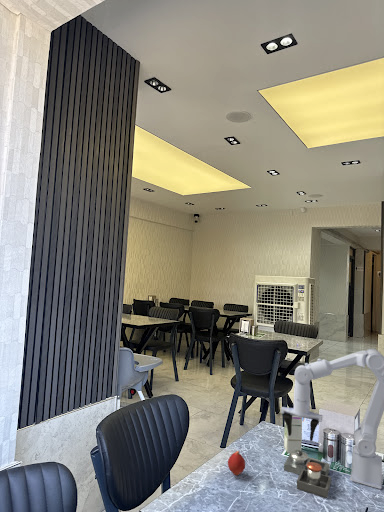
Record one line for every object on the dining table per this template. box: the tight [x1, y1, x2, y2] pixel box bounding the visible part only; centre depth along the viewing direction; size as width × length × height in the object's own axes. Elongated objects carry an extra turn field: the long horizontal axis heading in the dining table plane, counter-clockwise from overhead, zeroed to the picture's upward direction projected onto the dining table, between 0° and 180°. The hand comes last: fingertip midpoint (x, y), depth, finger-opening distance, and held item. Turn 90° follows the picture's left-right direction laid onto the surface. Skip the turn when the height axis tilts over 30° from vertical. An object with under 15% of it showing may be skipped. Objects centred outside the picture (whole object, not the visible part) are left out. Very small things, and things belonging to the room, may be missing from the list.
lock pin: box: [307, 462, 322, 487], centre depth 118 cm, size 5×5×6 cm
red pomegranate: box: [227, 450, 246, 476], centre depth 121 cm, size 6×6×8 cm
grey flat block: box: [283, 450, 331, 476], centre depth 128 cm, size 14×10×5 cm
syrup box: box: [283, 415, 303, 454], centre depth 143 cm, size 6×6×14 cm
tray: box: [296, 469, 332, 499], centre depth 117 cm, size 9×9×2 cm
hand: (300, 437), depth 131 cm, fingers open, 7 cm apart
